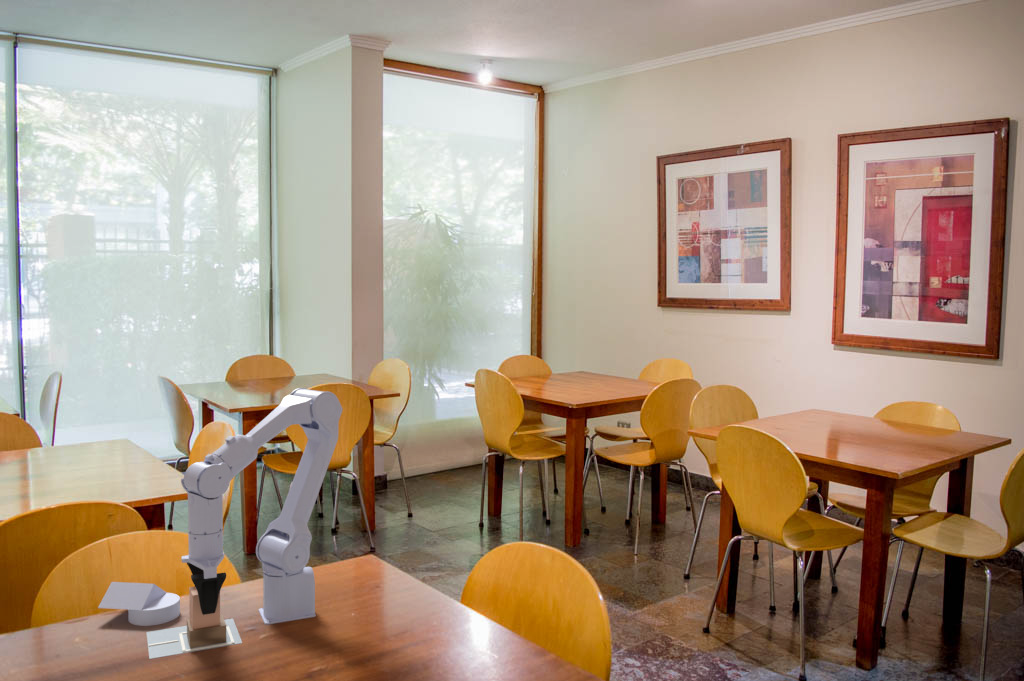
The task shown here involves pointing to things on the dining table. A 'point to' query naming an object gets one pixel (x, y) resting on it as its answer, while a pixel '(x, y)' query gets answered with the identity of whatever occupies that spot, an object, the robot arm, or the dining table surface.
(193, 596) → the column block
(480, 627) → the dining table surface
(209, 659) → the dining table surface
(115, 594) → the wedge on round base
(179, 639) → the board
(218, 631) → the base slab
